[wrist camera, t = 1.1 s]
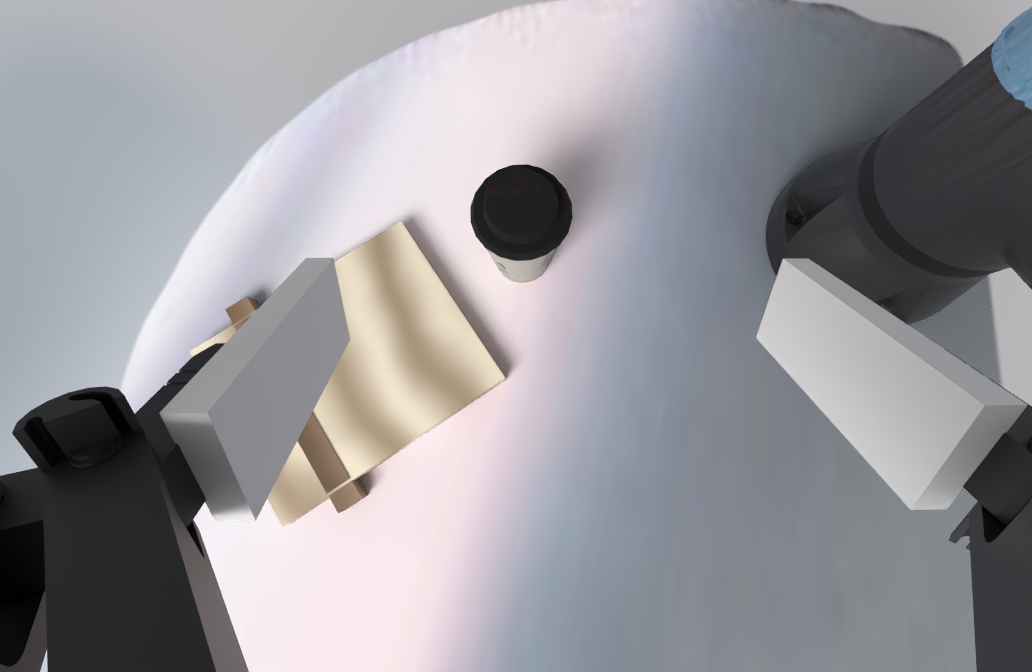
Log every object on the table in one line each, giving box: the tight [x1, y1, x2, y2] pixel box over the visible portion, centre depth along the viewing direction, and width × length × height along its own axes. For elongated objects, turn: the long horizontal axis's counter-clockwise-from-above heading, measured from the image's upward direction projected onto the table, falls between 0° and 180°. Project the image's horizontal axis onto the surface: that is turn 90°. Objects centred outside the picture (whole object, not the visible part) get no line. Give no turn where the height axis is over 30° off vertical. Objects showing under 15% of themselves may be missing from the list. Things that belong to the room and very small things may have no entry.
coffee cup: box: [471, 165, 572, 283], centre depth 35 cm, size 7×7×10 cm
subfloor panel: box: [190, 221, 506, 527], centre depth 37 cm, size 20×19×2 cm
